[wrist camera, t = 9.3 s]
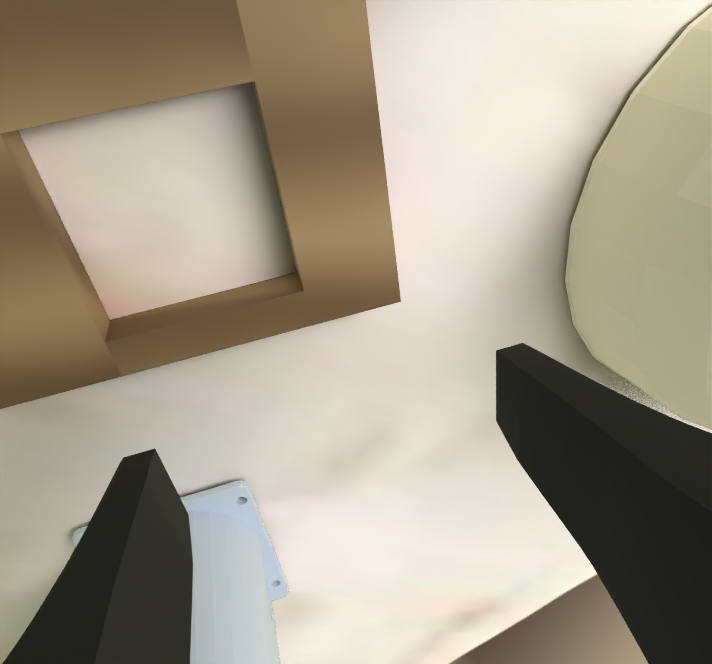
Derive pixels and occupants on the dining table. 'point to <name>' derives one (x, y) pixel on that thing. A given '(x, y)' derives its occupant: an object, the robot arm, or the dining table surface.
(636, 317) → the kettle
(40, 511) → the dining table surface
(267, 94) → the pocket board
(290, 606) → the dining table surface
